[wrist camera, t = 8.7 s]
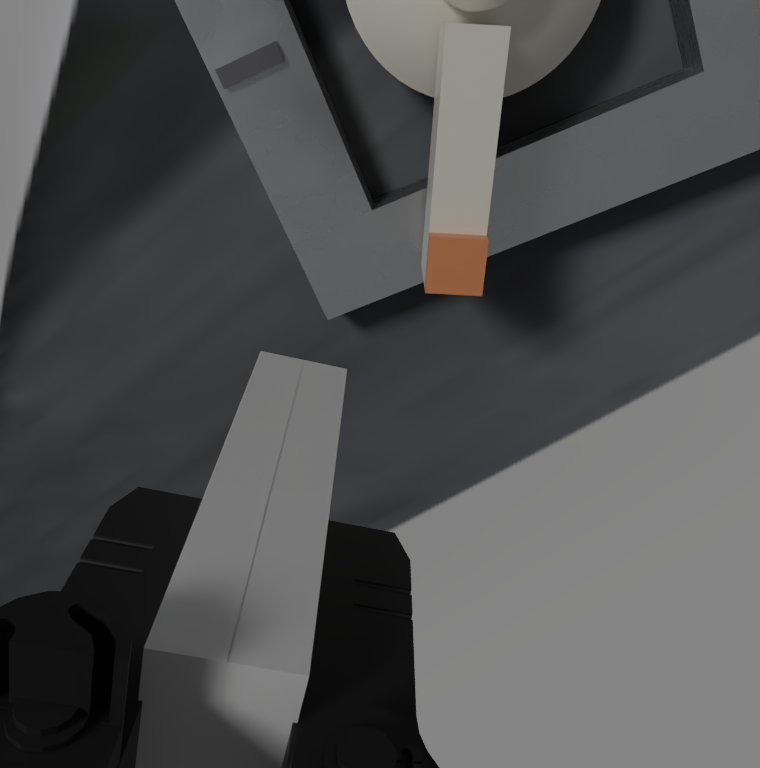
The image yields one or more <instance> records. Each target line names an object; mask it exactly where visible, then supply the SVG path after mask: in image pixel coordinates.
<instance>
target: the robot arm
mask: <svg viewBox="0 0 760 768" xmlns="http://www.w3.org/2000/svg"><path fill="white" fill-rule="evenodd" d="M346 373H347V369H344V368H340V367H335V366H330V365H325V364H320V363H316V362H311V361H306V360H301V359H296V358H292V357H287V356H282V355H277V354H272V353H268V352H263V351H261V352H260V354H259V357H258V359H257V362H256V364H255V367H254V369H253V372H252V374H251V377H250V380H249V382H248V385H247V387H246V390H245V392H244V395H243V397H242V400H241V402H240V405H239V407H238V410H237V413H236V415H235V418H234V420H233V423H232V425H231V428H230V430H229V433H228V435H227V438H226V440H225V443H224V446H223V448H222V451H221V453H220V456H219V458H218V461H217V463H216V466H215V468H214V471H213V473H212V476H211V479H210V481H209V484H208V486H207V489H206V491H205V494H204V496H203V499H200V498H194V497H189V496H184V495H178V494H173V493H168V492H163V491H157V490H152V489H147V488H141V487H138V488H136V489H135V490H133V491H132V492H131V493H129V494H128V495H126V496H125V497H123V498H122V499H121V500H119V501H118V502H116V503H115V504H113V505H112V506H110V507H109V509H108V511H107V513H106V514H105V516H104V518H103V519H102V521H101V523H100V525H99V526H98V528H97V530H96V532H95V533H94V537H93V540H90V542H89V544H88V545H87V547H86V549H85V551H84V552H83V554H82V556H81V558H80V562H79V563H77V564H76V566H75V568H74V570H73V571H72V573H71V575H70V576H69V578H68V580H67V582H66V583H65V585H64V587H63V589H62V590H61V591H47V592H42V593H38V594H34V595H29V596H25V597H20V598H17V599H15V600H13V601H11V602H9V603H7V604H5V605H3V606H1V607H0V768H439V767H438V765H437V764H436V763H435V761H434V760H433V759H432V757H431V756H430V754H429V753H428V751H427V749H426V747H425V745H424V743H423V740H422V738H421V736H420V734H419V729H418V723H417V718H416V698H415V675H414V674H415V673H414V647H413V622H412V620H411V617H412V596H411V595H410V594H411V569H410V559H409V558H408V556H407V554H406V552H405V550H404V549H403V547H402V545H401V543H400V541H399V540H398V538H397V536H396V534H395V533H393V532H387V531H382V530H377V529H371V528H366V527H361V526H356V525H350V524H345V523H340V522H334V521H329V512H330V503H331V495H332V487H333V479H334V471H335V463H336V455H337V447H338V438H339V430H340V422H341V414H342V406H343V398H344V390H345V382H346Z"/></svg>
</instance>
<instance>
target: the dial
mask: <svg viewBox="0 0 760 768" xmlns="http://www.w3.org/2000/svg"><path fill="white" fill-rule="evenodd" d="M600 1H601V0H346V2H347V6H348V10H349V12H350V15H351V17H352V20H353V22H354V25H355V27H356V29H357V31H358V32H359V34H360V36H361V38H362V40H363V42H364V43H365V45H366V46H367V47H368V49H369V50H370V52H371V53H372V54H373V56H374V57H375V58H376V59H377V60H378V61H379V63H380V64H381V65H382V66H383V67H384V68H385V69H386V70H387V71H388V72H390V73H391V74H392V75H393V76H394V77H396V78H397V79H398V80H399V81H401V82H402V83H404V84H406V85H407V86H409V87H411V88H412V89H414V90H416V91H418V92H421V93H423V94H425V95H428V96H430V97H434V110H433V123H432V135H431V148H430V161H429V174H428V186H427V199H426V212H425V225H424V237H423V250H422V263H421V266H422V273H423V281H424V288H425V293H432V294H451V295H470V296H482V294H483V286H484V277H485V269H486V260H487V252H488V243H489V239H488V237H487V229H488V220H489V212H490V203H491V195H492V186H493V177H494V169H495V160H496V152H497V143H498V135H499V126H500V117H501V109H502V100H503V97H506V96H510V95H512V94H515V93H517V92H519V91H521V90H524V89H526V88H528V87H529V86H531V85H533V84H534V83H536V82H537V81H539V80H541V79H542V78H543V77H545V76H546V75H547V74H549V73H550V72H551V71H552V70H554V69H555V68H556V67H557V66H558V65H559V64H560V63H561V62H562V61H563V60H564V59H565V58H566V57H567V56H568V55H569V54H570V52H571V51H572V50H573V49H574V47H575V46H576V45H577V43H578V42H579V41H580V40H581V38H582V36H583V35H584V33H585V32H586V30H587V28H588V27H589V25H590V23H591V21H592V19H593V17H594V15H595V13H596V11H597V9H598V6H599V4H600Z"/></svg>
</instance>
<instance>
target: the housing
mask: <svg viewBox="0 0 760 768" xmlns="http://www.w3.org/2000/svg"><path fill="white" fill-rule="evenodd" d="M175 2H176V4H177V6H178V8H179V10H180V12H181V15H182V17H183V19H184V21H185V23H186V25H187V27H188V29H189V31H190V33H191V35H192V37H193V40H194V42H195V44H196V46H197V48H198V50H199V52H200V54H201V56H202V58H203V60H204V63H205V65H206V67H207V69H208V71H209V73H210V75H211V77H212V79H213V81H214V83H215V86H216V88H217V90H218V92H219V94H220V96H221V98H222V100H223V102H224V104H225V106H226V109H227V111H228V113H229V115H230V117H231V119H232V121H233V123H234V125H235V127H236V129H237V131H238V134H239V136H240V138H241V140H242V142H243V144H244V146H245V148H246V150H247V152H248V154H249V157H250V159H251V161H252V163H253V165H254V167H255V169H256V171H257V173H258V175H259V177H260V180H261V182H262V184H263V186H264V188H265V190H266V192H267V194H268V196H269V198H270V200H271V202H272V205H273V207H274V209H275V211H276V213H277V215H278V217H279V219H280V221H281V223H282V225H283V228H284V230H285V232H286V234H287V236H288V238H289V240H290V242H291V244H292V246H293V248H294V251H295V253H296V255H297V257H298V259H299V261H300V263H301V265H302V267H303V269H304V271H305V273H306V276H307V278H308V280H309V282H310V284H311V286H312V288H313V290H314V292H315V294H316V296H317V299H318V301H319V303H320V305H321V307H322V309H323V311H324V313H325V315H326V317H327V319H328V320H329V319H332V318H334V317H337V316H339V315H342V314H345V313H347V312H350V311H352V310H355V309H357V308H360V307H362V306H365V305H367V304H370V303H372V302H375V301H377V300H380V299H382V298H385V297H388V296H390V295H393V294H395V293H398V292H400V291H403V290H405V289H408V288H410V287H413V286H415V285H418V284H420V283H423V282H424V281H423V273H422V266H421V263H422V250H423V237H424V225H425V212H426V199H427V186H428V177H426V178H424V179H421V180H419V181H417V182H414V183H412V184H410V185H407V186H405V187H402V188H400V189H398V190H395V191H393V192H391V193H388V194H386V195H384V196H381V197H379V198H376V199H374V200H373V199H372V196H371V194H370V192H369V189H368V187H367V185H366V182H365V180H364V177H363V175H362V173H361V170H360V168H359V165H358V163H357V161H356V158H355V156H354V153H353V151H352V149H351V146H350V144H349V142H348V139H347V137H346V134H345V132H344V130H343V127H342V125H341V122H340V120H339V118H338V115H337V113H336V110H335V108H334V106H333V103H332V101H331V99H330V96H329V94H328V91H327V89H326V87H325V84H324V82H323V79H322V77H321V75H320V72H319V70H318V67H317V65H316V63H315V60H314V58H313V56H312V53H311V51H310V48H309V46H308V44H307V41H306V39H305V36H304V34H303V32H302V29H301V27H300V24H299V22H298V20H297V17H296V15H295V13H294V10H293V8H292V5H291V3H290V1H289V0H175ZM669 4H670V8H671V13H672V17H673V22H674V26H675V31H676V35H677V40H678V45H679V49H680V54H681V58H682V63H683V67H684V69H682V70H680V71H677V72H675V73H673V74H670V75H668V76H665V77H663V78H661V79H658V80H656V81H654V82H651V83H649V84H646V85H644V86H642V87H639V88H637V89H635V90H632V91H630V92H628V93H625V94H623V95H620V96H618V97H616V98H613V99H611V100H609V101H606V102H604V103H601V104H599V105H597V106H594V107H592V108H590V109H587V110H585V111H583V112H580V113H578V114H575V115H573V116H571V117H568V118H566V119H564V120H561V121H559V122H556V123H554V124H552V125H549V126H547V127H545V128H542V129H540V130H538V131H535V132H533V133H530V134H528V135H526V136H523V137H521V138H519V139H516V140H514V141H511V142H509V143H507V144H504V145H502V146H500V147H497V152H496V160H495V169H494V177H493V186H492V195H491V203H490V212H489V220H488V229H487V237H488V239H489V243H488V252H487V257H489V256H491V255H494V254H496V253H499V252H501V251H504V250H507V249H509V248H512V247H514V246H517V245H519V244H522V243H524V242H527V241H529V240H532V239H534V238H537V237H539V236H542V235H544V234H547V233H550V232H552V231H555V230H557V229H560V228H562V227H565V226H567V225H570V224H572V223H575V222H577V221H580V220H582V219H585V218H588V217H590V216H593V215H595V214H598V213H600V212H603V211H605V210H608V209H610V208H613V207H615V206H618V205H620V204H623V203H625V202H628V201H631V200H633V199H636V198H638V197H641V196H643V195H646V194H648V193H651V192H653V191H656V190H658V189H661V188H663V187H666V186H668V185H671V184H674V183H676V182H679V181H681V180H684V179H686V178H689V177H691V176H694V175H696V174H699V173H701V172H704V171H706V170H709V169H712V168H714V167H717V166H719V165H722V164H724V163H727V162H729V161H732V160H734V159H737V158H739V157H742V156H744V155H747V154H749V153H752V152H755V151H757V150H760V0H669Z"/></svg>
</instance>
